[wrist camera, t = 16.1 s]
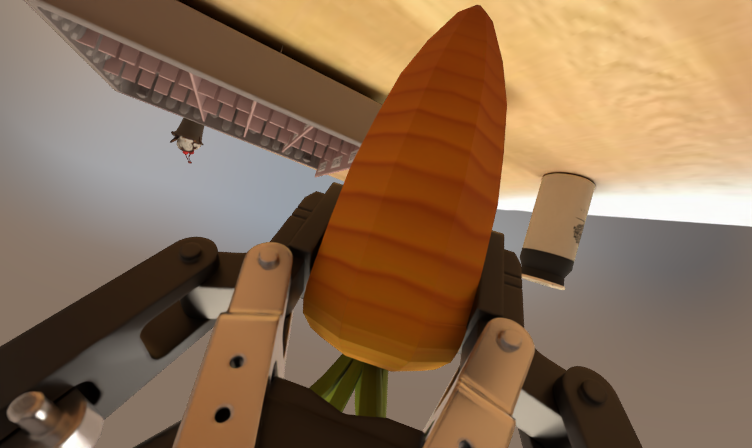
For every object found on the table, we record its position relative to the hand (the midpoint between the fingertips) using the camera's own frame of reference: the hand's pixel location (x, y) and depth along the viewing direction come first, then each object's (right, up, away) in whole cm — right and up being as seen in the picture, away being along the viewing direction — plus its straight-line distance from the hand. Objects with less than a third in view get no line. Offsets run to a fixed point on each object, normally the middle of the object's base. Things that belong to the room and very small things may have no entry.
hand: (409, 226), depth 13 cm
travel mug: (+31, +8, +46) cm, 56 cm away
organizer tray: (-21, +24, +43) cm, 53 cm away
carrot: (+2, +7, -1) cm, 8 cm away
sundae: (-41, +29, +67) cm, 83 cm away
